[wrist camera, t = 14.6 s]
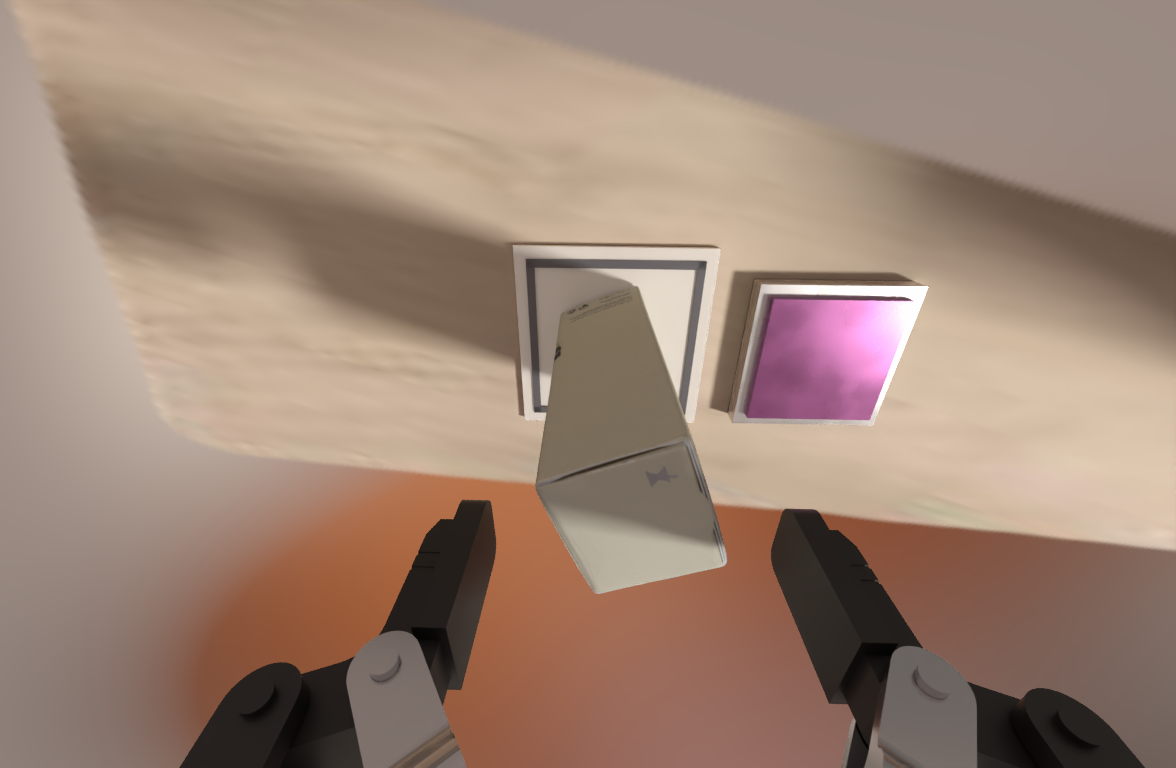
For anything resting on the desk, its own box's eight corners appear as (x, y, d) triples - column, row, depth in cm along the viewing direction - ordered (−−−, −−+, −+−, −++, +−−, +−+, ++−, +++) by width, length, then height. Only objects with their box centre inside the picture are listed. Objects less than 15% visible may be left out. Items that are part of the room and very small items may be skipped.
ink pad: (914, 281, 21) (933, 289, 20) (863, 415, 25) (877, 429, 24) (754, 279, 21) (764, 286, 20) (727, 413, 25) (734, 426, 24)
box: (558, 310, 22) (520, 478, 11) (640, 282, 21) (691, 430, 10) (592, 394, 24) (591, 603, 13) (667, 371, 24) (734, 572, 12)
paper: (719, 247, 21) (721, 249, 20) (692, 420, 26) (694, 423, 25) (513, 244, 21) (512, 246, 20) (525, 417, 26) (524, 421, 25)
